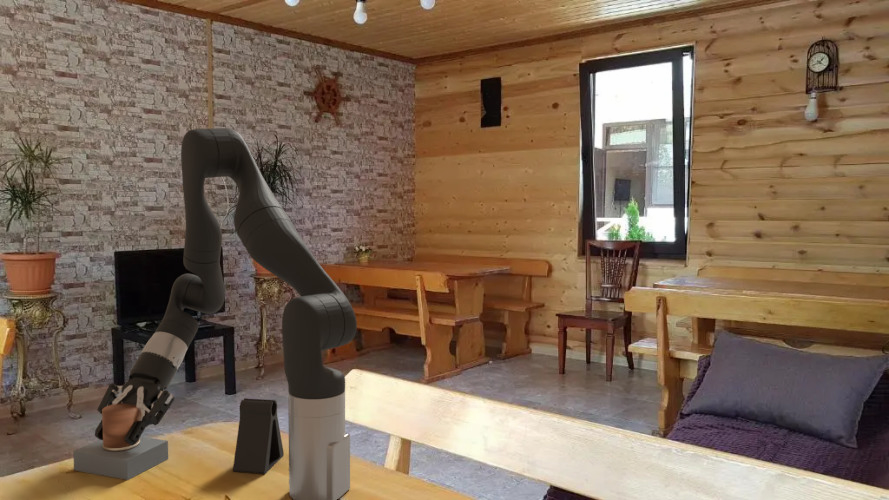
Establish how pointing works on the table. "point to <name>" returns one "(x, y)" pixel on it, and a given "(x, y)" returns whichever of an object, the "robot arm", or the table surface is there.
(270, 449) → the phone stand
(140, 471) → the board
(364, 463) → the table surface
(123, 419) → the peg
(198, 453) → the table surface
